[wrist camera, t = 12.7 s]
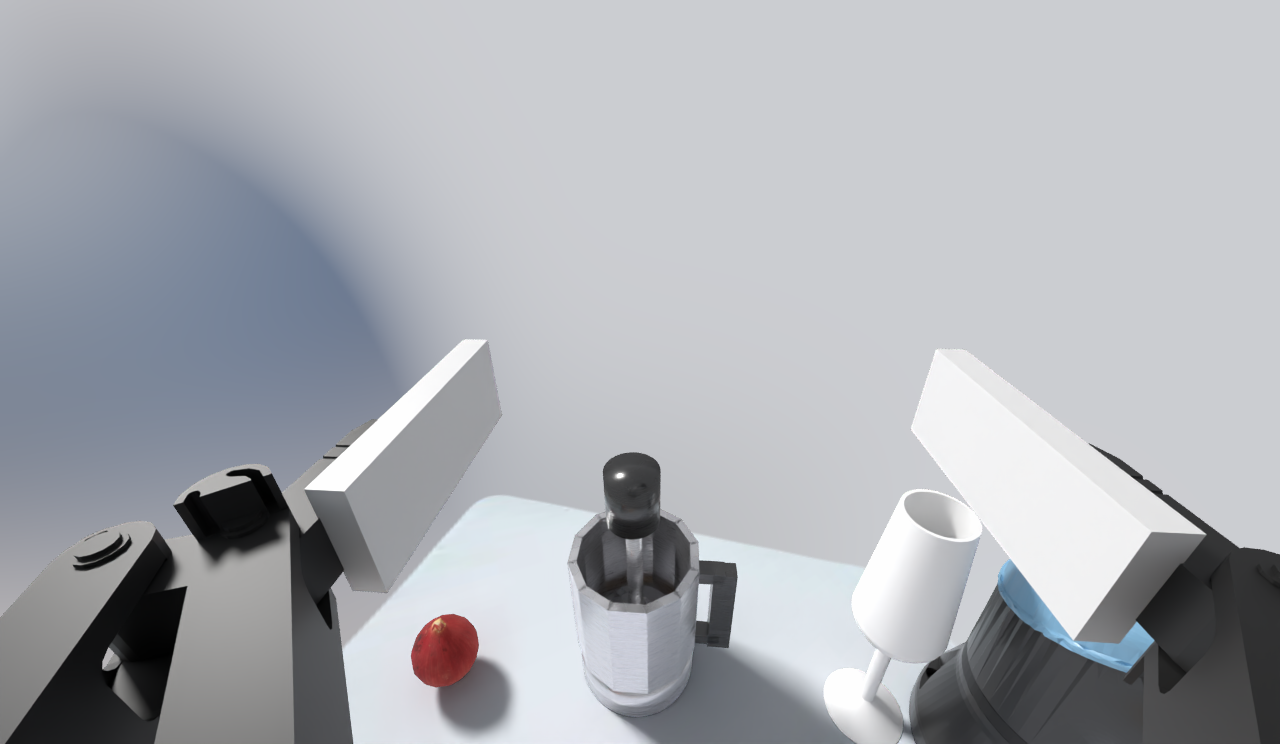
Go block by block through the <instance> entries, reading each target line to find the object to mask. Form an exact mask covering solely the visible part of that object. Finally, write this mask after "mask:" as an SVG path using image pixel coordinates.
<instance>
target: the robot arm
mask: <svg viewBox="0 0 1280 744" xmlns="http://www.w3.org/2000/svg"><path fill="white" fill-rule="evenodd" d="M501 416H502V413H501V408H500V402H499V397H498V391H497V386H496V382H495V376H494V371H493V366H492V360H491V355H490V350H489V345H488V340H465V339H464V340H463V341H462V342H460V343H459V344H458V345H457V346H456V347H455V348H454V349H453V350H452V351H451V352H450V353H449V354H448V355H447V356H446V357H444V358H443V359H442V360H441V361H440V362H439V363H438V364H437V365H436V366H435V367H434V368H433V369H432V370H431V371H429V372H428V373H427V374H426V375H425V376H424V377H423V378H422V379H421V380H420V381H419V382H418V383H417V384H416V385H415V386H414V387H412V388H411V389H410V390H409V391H408V392H407V393H406V394H405V395H404V396H403V397H402V398H401V399H400V400H399V401H397V402H396V403H395V404H394V405H393V406H392V407H391V408H390V409H389V410H388V411H387V412H386V413H385V414H384V415H383V416H381V417H380V418H379V419H378V420H374V419H373V420H370V421H368V422H367V423H365V424H363V425H361V426H359V427H358V428H356V429H354V430H352V431H351V432H350V433H348V434H347V435H346V436H345V437H344V438H343V439H342V440H341V441H339V442H338V443H337V444H336V447H335V448H332V449H331V450H329V451H328V452H327V453H326V454H325V455H324V456H323V459H319V460H318V461H317V462H316V463H315V464H314V465H313V466H312V467H311V468H309V469H308V470H307V471H306V472H305V473H304V474H303V475H302V476H300V477H299V478H298V479H297V480H296V481H295V482H294V483H293V484H291V485H290V486H289V487H288V488H287V489H286V490H285V491H284V492H282V493H281V491H280V489H279V487H278V485H277V483H276V481H275V479H274V477H273V475H272V473H271V471H270V469H269V467H266V466H263V465H260V464H250V465H249V464H248V465H241V466H237V467H233V468H228V469H225V470H223V471H220V472H217V473H215V474H212V475H210V476H208V477H206V478H204V479H202V480H200V481H199V482H197V483H195V484H193V485H192V486H191V487H189V488H188V489H187V490H186V491H184V492H183V493H182V494H181V495H180V496H179V497H178V499H177V500H176V502H175V503H174V505H173V506H174V507H175V509H176V510H177V512H178V513H179V515H180V516H181V518H182V519H183V521H184V522H185V524H186V525H187V527H188V528H189V530H190V531H191V533H192V534H193V535H188V536H182V537H177V538H171V539H166V540H164V539H163V537H162V536H161V535H160V533H159V532H158V531H157V529H156V528H155V526H154V525H153V524H152V523H150V522H145V521H136V522H128V523H123V524H120V525H116V526H113V527H110V528H105V529H103V530H100V531H98V532H97V533H95V534H94V533H93V534H91V535H89V536H87V537H85V538H83V539H82V540H80V541H79V542H78V543H76V544H74V545H73V546H71V547H69V548H68V549H66V550H65V551H63V552H62V553H61V554H60V555H59V556H58V557H57V558H55V559H54V560H53V561H52V562H51V563H50V564H49V565H48V566H47V567H46V568H45V569H44V570H43V571H42V572H41V574H40V575H39V576H38V577H37V578H36V579H35V580H34V581H33V582H32V583H31V585H30V586H29V587H28V588H27V589H26V590H25V591H24V592H23V593H22V594H21V595H20V597H19V598H18V599H17V600H16V601H15V602H14V603H13V604H12V605H11V606H10V608H9V609H8V610H7V611H6V612H5V613H4V614H3V615H2V616H1V617H0V744H353V737H352V729H351V721H350V712H349V704H348V696H347V687H346V679H345V670H344V662H343V654H342V645H341V637H340V629H339V621H338V612H337V604H336V598H335V596H334V594H333V592H332V590H331V586H332V585H333V584H334V582H335V581H336V580H337V578H338V577H339V576H340V575H341V573H342V572H344V574H345V576H346V578H347V580H348V582H349V584H350V587H351V589H352V590H353V591H365V592H379V593H388V592H389V590H390V588H391V587H392V585H393V584H394V582H395V581H396V579H397V578H398V576H399V574H400V573H401V571H402V570H403V568H404V567H405V565H406V564H407V562H408V560H409V559H410V557H411V556H412V554H413V553H414V551H415V550H416V548H417V547H418V545H419V543H420V542H421V540H422V539H423V537H424V536H425V534H426V533H427V531H428V529H429V528H430V526H431V525H432V523H433V522H434V520H435V519H436V517H437V515H438V514H439V512H440V511H441V509H442V508H443V506H444V504H445V503H446V501H447V500H448V498H449V497H450V495H451V494H452V492H453V491H454V489H455V487H456V486H457V484H458V483H459V481H460V480H461V478H462V477H463V475H464V473H465V472H466V470H467V469H468V467H469V466H470V464H471V463H472V461H473V459H474V458H475V456H476V455H477V453H478V452H479V450H480V449H481V447H482V446H483V444H484V442H485V441H486V439H487V438H488V436H489V434H490V433H491V432H492V430H493V428H494V427H495V425H496V424H497V422H498V421H499V419H500V418H501ZM911 430H912V432H913V433H914V434H915V435H916V437H917V438H918V439H919V441H920V442H921V443H922V444H923V446H924V447H925V448H926V450H927V451H928V452H929V454H930V455H931V456H932V458H933V459H934V460H935V461H936V463H937V464H938V465H939V467H940V468H941V469H942V471H943V472H944V473H945V474H946V476H947V477H948V478H949V480H950V481H951V482H952V484H953V485H954V486H955V487H956V489H957V490H958V491H959V493H960V494H961V495H962V497H963V498H964V499H965V500H966V502H967V503H968V504H969V506H970V507H971V508H972V509H973V511H974V512H975V513H976V515H977V516H978V517H979V518H980V520H981V521H982V523H983V524H984V525H985V526H986V528H987V529H988V530H989V532H990V533H991V534H992V535H993V537H994V538H995V539H996V541H997V542H998V543H999V545H1000V546H1001V547H1002V549H1003V550H1004V551H1005V552H1006V554H1007V555H1008V556H1009V558H1010V559H1009V560H1008V561H1007V562H1006V563H1005V564H1004V565H1003V566H1002V568H1001V570H1000V572H999V574H998V578H999V579H998V584H997V586H996V588H995V590H994V592H993V593H992V595H991V597H990V599H989V601H988V603H987V605H986V607H985V609H984V610H983V612H982V614H981V616H980V617H979V619H978V621H977V623H976V625H975V627H974V628H973V630H972V632H971V634H970V636H969V638H968V640H967V641H966V642H965V643H963V644H961V645H959V646H957V647H955V648H953V649H951V650H948V651H946V652H944V653H943V654H942V655H940V656H939V657H938V658H936V659H935V660H933V661H930V662H929V663H928V664H927V665H926V666H925V667H924V668H923V670H922V671H921V673H920V675H919V677H918V679H917V681H916V683H915V685H914V687H913V690H912V693H911V697H910V704H909V715H910V723H911V728H912V733H913V736H914V740H915V743H916V744H1280V555H1279V554H1276V553H1272V552H1269V551H1266V550H1260V549H1251V548H1238V547H1237V546H1236V545H1235V544H1233V543H1232V542H1231V541H1229V540H1228V539H1226V538H1225V537H1224V536H1222V535H1221V534H1220V533H1218V532H1217V531H1216V530H1214V529H1213V528H1212V527H1210V526H1209V525H1208V524H1206V523H1205V522H1204V521H1202V520H1201V519H1200V518H1198V517H1197V516H1195V515H1194V514H1193V513H1191V512H1190V511H1189V510H1188V509H1186V508H1185V507H1184V506H1182V505H1181V504H1180V503H1178V502H1177V501H1175V500H1174V499H1173V498H1171V497H1170V496H1169V495H1163V493H1162V490H1161V489H1159V488H1158V487H1157V486H1155V485H1154V484H1153V483H1151V482H1150V481H1149V480H1143V476H1142V475H1141V474H1139V473H1138V472H1137V471H1135V470H1134V469H1132V468H1131V467H1130V466H1129V465H1127V464H1126V463H1125V462H1123V461H1122V460H1120V459H1118V458H1117V457H1115V456H1113V455H1111V454H1109V453H1107V452H1105V451H1103V450H1101V449H1099V448H1097V447H1095V446H1093V445H1091V444H1088V443H1086V442H1085V441H1084V440H1082V439H1081V438H1080V437H1079V436H1077V435H1076V434H1075V433H1073V432H1072V431H1071V430H1070V429H1068V428H1067V427H1066V426H1064V425H1063V424H1061V423H1060V422H1059V421H1058V420H1056V419H1055V418H1054V417H1053V416H1051V415H1050V414H1049V413H1047V412H1046V411H1045V410H1043V409H1042V408H1041V407H1039V406H1038V405H1037V404H1036V403H1034V402H1033V401H1031V400H1030V399H1029V398H1028V397H1026V396H1025V395H1024V394H1022V393H1021V392H1020V391H1019V390H1017V389H1016V388H1015V387H1013V386H1012V385H1011V384H1009V383H1008V382H1007V381H1006V380H1004V379H1003V378H1002V377H1000V376H999V375H998V374H996V373H995V372H994V371H992V370H991V369H990V368H988V367H987V366H986V365H984V364H983V363H982V362H981V361H979V360H978V359H977V358H975V357H974V356H973V355H972V354H970V353H969V352H968V351H966V350H965V349H936V352H935V355H934V358H933V361H932V364H931V367H930V371H929V374H928V377H927V380H926V383H925V386H924V389H923V392H922V396H921V398H920V402H919V405H918V408H917V411H916V414H915V417H914V420H913V423H912V427H911ZM108 647H109V648H110V649H111V650H112V651H113V652H114V655H113V657H112V658H111V660H110V661H109V663H108V664H107V666H106V667H105V668H104V669H102V661H103V659H104V656H105V654H106V651H107V649H108Z"/></svg>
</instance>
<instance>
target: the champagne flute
mask: <svg viewBox="0 0 1280 744" xmlns="http://www.w3.org/2000/svg"><path fill="white" fill-rule="evenodd" d="M981 533H982V524H981V522H980V519H979V518H978V517H977V515H976V514H975V513H974V512H973V511H972V510H971V509H970V508H969V507H968V506H966V505H965V504H963V503H962V502H960V501H959V500H957V499H955V498H953V497H951V496H949V495H946V494H944V493H941V492H937V491H932V490H926V489H915V490H911V491H908V492H906V493H905V494H903V495H902V497H901V499H900V501H899V503H898V505H897V507H896V509H895V511H894V513H893V515H892V517H891V519H890V521H889V523H888V525H887V527H886V529H885V531H884V533H883V535H882V537H881V539H880V541H879V543H878V545H877V547H876V549H875V551H874V553H873V555H872V557H871V559H870V561H869V563H868V565H867V567H866V569H865V571H864V573H863V575H862V577H861V579H860V581H859V583H858V585H857V587H856V589H855V591H854V593H853V596H852V612H853V615H854V618H855V621H856V623H857V625H858V627H859V629H860V631H861V632H862V633H863V635H864V636H865V638H866V639H867V640H868V641H869V642H870V643H871V644H872V645H873V646H874V647H875V648H876V650H875V653H874V655H873V658H872V661H871V663H870V666H869V668H868V671H867V673H866V672H864V671H861V670H858V669H853V668H842V669H839V670H836V671H835V672H833V673H832V674H831V675H830V676H829V677H828V678H827V680H826V683H825V686H824V700H825V705H826V708H827V710H828V713H829V715H830V716H831V718H832V720H833V722H834V723H835V724H836V726H837V727H838V728H839V729H840V730H841V731H842V732H843V733H844V734H845V735H846V736H847V737H848V738H850V739H851V740H852V741H854V742H855V743H857V744H896V743H897V742H898V741H899V739H900V738H901V735H902V732H903V718H902V713H901V711H900V708H899V705H898V703H897V702H896V700H895V698H894V697H893V695H892V694H891V692H890V691H889V690H888V689H887V688H886V687H885V686H884V685H883V684H882V683H881V681H882V678H883V676H884V674H885V671H886V669H887V667H888V664H889V662H890V659H891V658H892V659H895V660H898V661H902V662H906V663H925V662H930V661H933V660H935V659H936V658H938V657H939V656H940V655H942V654H943V653H944V651H945V650H946V648H947V645H948V642H949V639H950V636H951V632H952V629H953V625H954V622H955V619H956V616H957V612H958V609H959V606H960V602H961V599H962V595H963V592H964V589H965V586H966V582H967V579H968V576H969V572H970V569H971V566H972V563H973V559H974V556H975V553H976V549H977V546H978V543H979V539H980V536H981Z"/></svg>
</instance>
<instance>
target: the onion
mask: <svg viewBox="0 0 1280 744" xmlns="http://www.w3.org/2000/svg"><path fill="white" fill-rule="evenodd" d="M478 647H479V644H478V637H477V632H476V629H475V628H474V626H473V625H472V624H471V623H470V622H469V621H468V620H467V619H466V618H465V617H461V616H458V615H455V614H449V615H442V616H440V617H437V618H435V619H433V620H432V621H430V622H429V623H427V624H426V625H425V626H424V627H423V629H422V630H421V631H420V633H419V634H418V635H417V637H416V640H415V643H414V646H413V649H412V653H411V659H412V665H413V670H414V674H415V675H416V676H417V677H418V678H419V679H420V680H421V681H422V682H423V683H425V684H426V685H430V686H433V687H442V686H450V685H452V684H454V683H455V682H457V681H459V680H461V679H462V678H463V677H464V676H465V675H466V674H467V673H468V672H469V670H470V669H471V667H472V665H473V664H474V662H475V659H476V657H477V652H478Z"/></svg>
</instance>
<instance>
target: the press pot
mask: <svg viewBox="0 0 1280 744" xmlns="http://www.w3.org/2000/svg"><path fill="white" fill-rule="evenodd" d="M642 553H643V585H644V586H649V587H652V588H654V589H656V590H658V591H660V592H661V593H663V594H664V595H665V596H663V597H661V598H659V599H657V600H655V601H652V602H650V603H648V604H646V605H642V604H627V603H613V602H610V601H609V600H607V599H606V598H607V597H608V596H609V595H610V594H611V593H613V592H614V591H616V590H618V589H620V588H623V587H626V586H628V582H627V559H626V539H624V538H621V537H618V536H616V535H615V534H614V533H612V532H611V531H610V529H609V528H608V526H607V522H606V511H605V512H603V513H600V514H597V515H595V516H594V517H593V518H592V519H591V520H590V521H589V522H588V523H587V524H586V525H585V526H584V527H583V528H582V529H581V530H580V531H579V532H578V533H577V534H576V535H575V537H574V541H573V544H572V548H571V552H570V556H569V559H568V562H567V563H568V570H569V578H570V585H571V593H572V600H573V608H574V615H575V623H576V630H577V637H578V643H579V645H580V648H581V651H582V659H583V667H584V674H585V677H586V681H587V683H588V686H589V688H590V689H591V691H592V693H593V694H594V696H595V697H596V698H597V699H598V700H599V701H600V702H601V703H602V704H603V705H604V706H605V707H607V708H608V709H610V710H612V711H614V712H616V713H618V714H621V715H624V716H630V717H643V716H649V715H653V714H656V713H658V712H660V711H662V710H664V709H666V708H667V707H669V706H670V705H671V704H672V703H673V702H675V701H676V700H677V698H678V697H679V696H680V695H681V693H682V692H683V690H684V689H685V687H686V685H687V683H688V680H689V677H690V673H691V668H692V655H693V651H694V644H695V643H703V644H707V646H709V647H723V648H729V640H730V633H731V625H732V617H733V609H734V601H735V593H736V585H737V569H736V563H724V562H717V561H700V560H699V549H698V541H697V540H696V538H695V537H694V536H693V534H692V533H691V532H690V530H689V529H688V527H687V526H686V525H685V523H684V522H683V521H682V519H680V518H678V517H676V516H674V515H672V514H670V513H668V512H666V511H664V510H661V509H660V523H659V526H658V528H657V529H656V530H655V531H654V532H653V533H652V534H650V535H649V536H647V537H644V538H642ZM699 584H711V587H710V599H709V610H708V622H703V621H696V614H697V600H698V585H699Z"/></svg>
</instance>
